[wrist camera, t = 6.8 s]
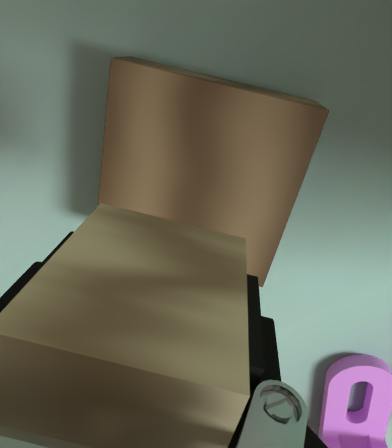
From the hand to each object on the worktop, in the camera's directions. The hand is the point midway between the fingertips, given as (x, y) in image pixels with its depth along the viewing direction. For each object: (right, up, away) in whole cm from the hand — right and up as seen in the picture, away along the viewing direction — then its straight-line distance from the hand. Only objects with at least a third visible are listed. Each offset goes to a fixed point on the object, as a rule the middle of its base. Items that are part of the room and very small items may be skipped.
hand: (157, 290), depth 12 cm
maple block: (0, 0, +1) cm, 1 cm away
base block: (+2, +6, +13) cm, 14 cm away
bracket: (+16, -15, +21) cm, 31 cm away
